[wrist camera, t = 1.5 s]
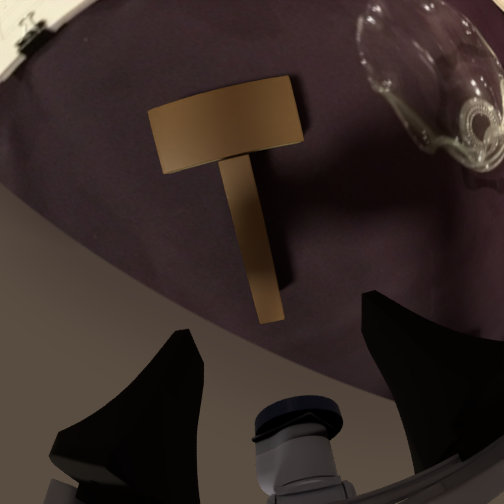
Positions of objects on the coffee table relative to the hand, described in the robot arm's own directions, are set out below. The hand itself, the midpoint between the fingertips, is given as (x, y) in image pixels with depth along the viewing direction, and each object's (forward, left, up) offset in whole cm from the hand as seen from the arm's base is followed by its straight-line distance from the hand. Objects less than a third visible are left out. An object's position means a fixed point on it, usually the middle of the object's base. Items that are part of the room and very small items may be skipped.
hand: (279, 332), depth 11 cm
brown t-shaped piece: (+1, +3, -9) cm, 9 cm away
